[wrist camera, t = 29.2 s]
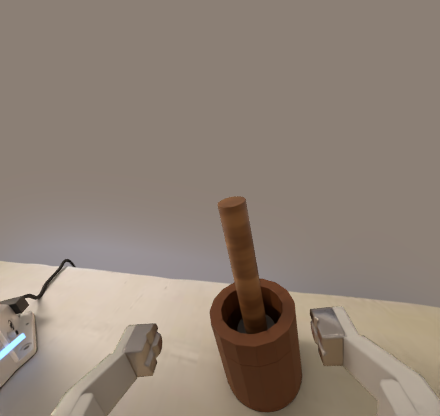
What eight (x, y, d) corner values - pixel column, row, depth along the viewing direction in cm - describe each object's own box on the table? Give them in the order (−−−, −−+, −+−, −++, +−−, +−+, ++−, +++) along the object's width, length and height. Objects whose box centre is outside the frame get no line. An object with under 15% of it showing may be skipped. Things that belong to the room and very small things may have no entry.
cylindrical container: (214, 361, 33) (196, 304, 29) (266, 323, 37) (256, 269, 33) (258, 434, 24) (241, 367, 20) (318, 374, 28) (314, 308, 25)
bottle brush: (239, 362, 31) (199, 204, 23) (265, 342, 33) (237, 190, 25) (261, 393, 27) (223, 215, 19) (289, 368, 29) (266, 197, 21)
